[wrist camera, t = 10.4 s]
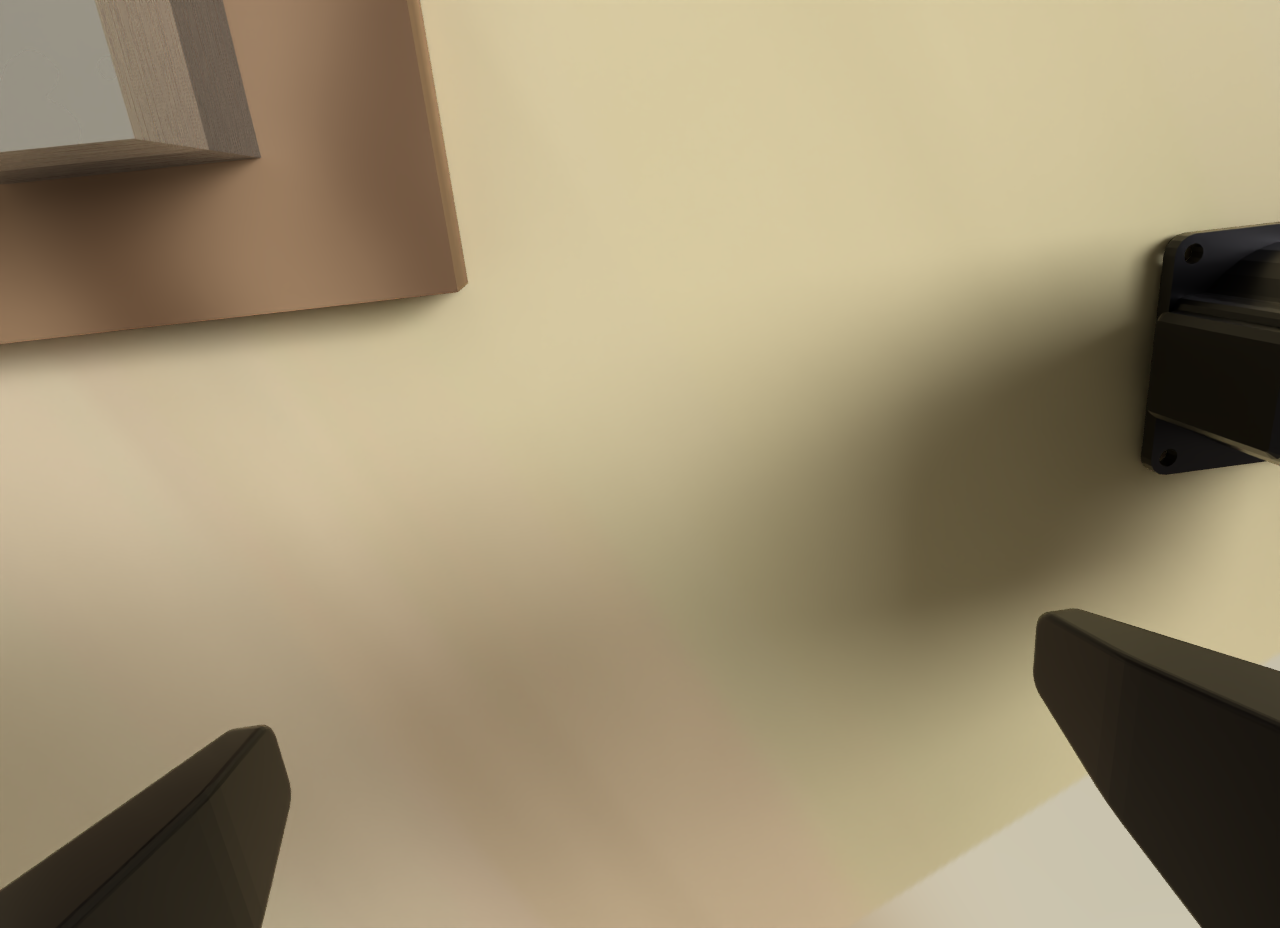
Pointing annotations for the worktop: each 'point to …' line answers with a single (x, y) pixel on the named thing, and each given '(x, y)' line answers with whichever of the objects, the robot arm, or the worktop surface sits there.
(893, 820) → the worktop surface
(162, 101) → the block
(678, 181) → the worktop surface
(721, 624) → the worktop surface
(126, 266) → the walnut stand
